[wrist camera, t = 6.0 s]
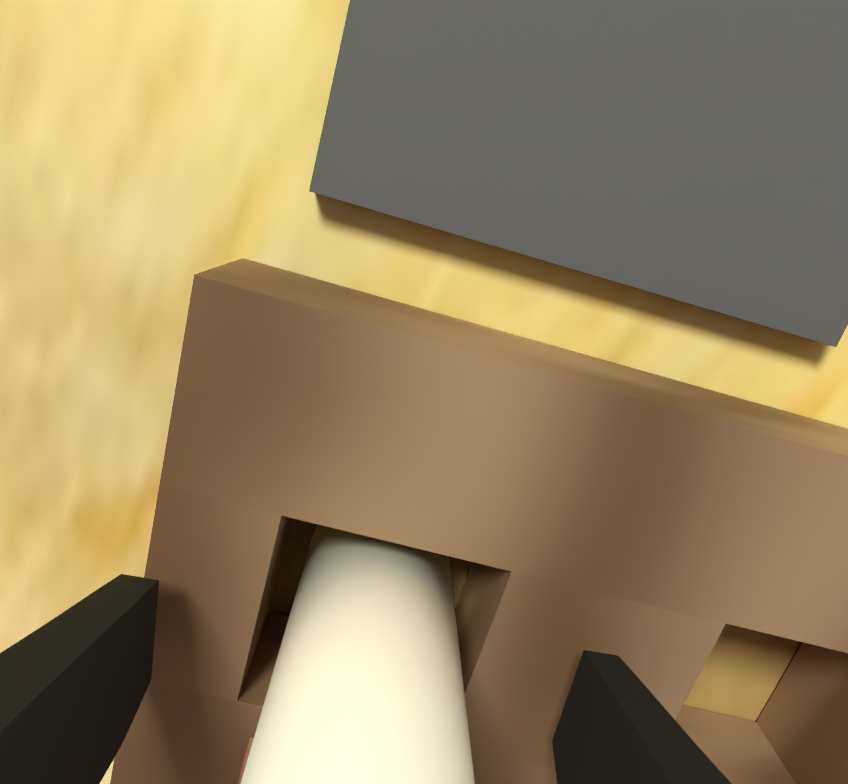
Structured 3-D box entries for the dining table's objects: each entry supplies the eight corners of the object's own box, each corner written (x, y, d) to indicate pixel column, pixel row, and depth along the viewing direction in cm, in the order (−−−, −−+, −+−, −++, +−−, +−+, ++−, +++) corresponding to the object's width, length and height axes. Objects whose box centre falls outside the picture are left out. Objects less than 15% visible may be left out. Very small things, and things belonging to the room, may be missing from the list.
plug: (462, 507, 13) (562, 1067, 4) (431, 624, 13) (465, 1273, 5) (322, 481, 12) (152, 1024, 4) (299, 601, 13) (120, 1248, 5)
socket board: (1000, 472, 12) (1159, 546, 10) (767, 837, 16) (838, 968, 13) (243, 258, 11) (187, 277, 8) (157, 710, 14) (97, 829, 12)
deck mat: (1062, -147, 9) (1098, -166, 9) (819, 340, 12) (835, 347, 11) (440, -394, 8) (442, -431, 8) (314, 191, 11) (308, 190, 10)
